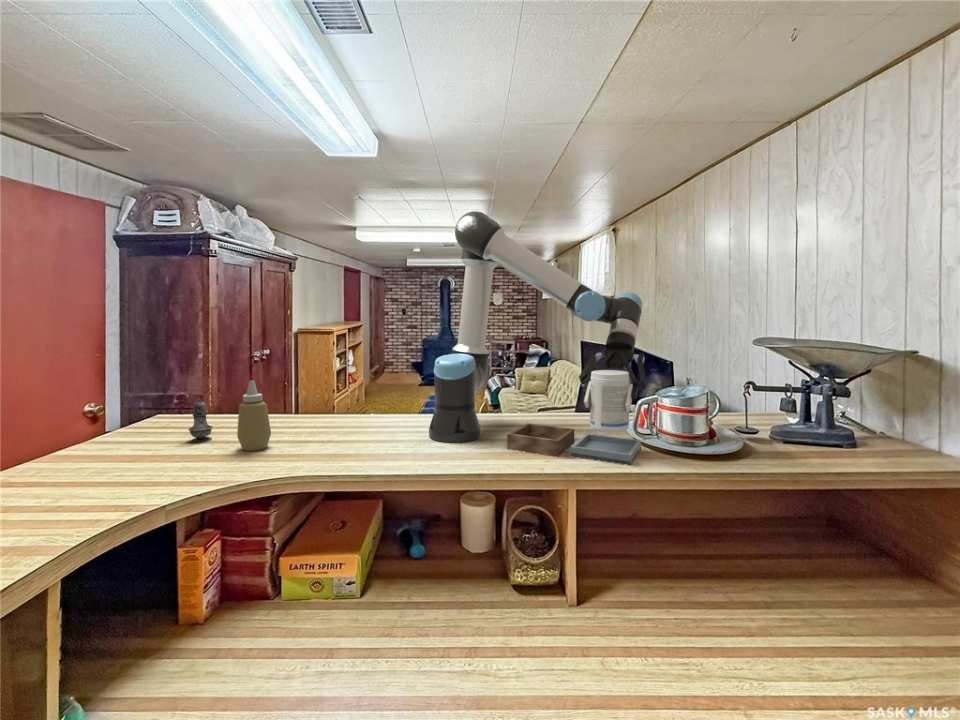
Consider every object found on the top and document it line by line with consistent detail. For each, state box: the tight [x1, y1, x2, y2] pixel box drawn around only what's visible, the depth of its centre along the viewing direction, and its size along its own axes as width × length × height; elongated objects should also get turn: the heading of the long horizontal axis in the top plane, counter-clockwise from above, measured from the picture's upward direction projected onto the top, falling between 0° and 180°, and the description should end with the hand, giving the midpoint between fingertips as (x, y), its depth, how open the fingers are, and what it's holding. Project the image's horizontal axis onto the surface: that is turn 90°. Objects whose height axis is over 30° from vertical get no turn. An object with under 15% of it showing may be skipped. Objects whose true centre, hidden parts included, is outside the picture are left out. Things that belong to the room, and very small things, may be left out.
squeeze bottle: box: [236, 380, 272, 452], centre depth 125 cm, size 8×8×18 cm
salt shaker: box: [187, 398, 214, 444], centre depth 132 cm, size 6×6×12 cm
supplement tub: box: [589, 369, 631, 434], centre depth 121 cm, size 10×10×15 cm
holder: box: [506, 422, 576, 458], centre depth 128 cm, size 14×14×4 cm
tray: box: [570, 433, 642, 466], centre depth 122 cm, size 15×15×2 cm
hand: (606, 406), depth 118 cm, fingers closed on supplement tub, 9 cm apart
